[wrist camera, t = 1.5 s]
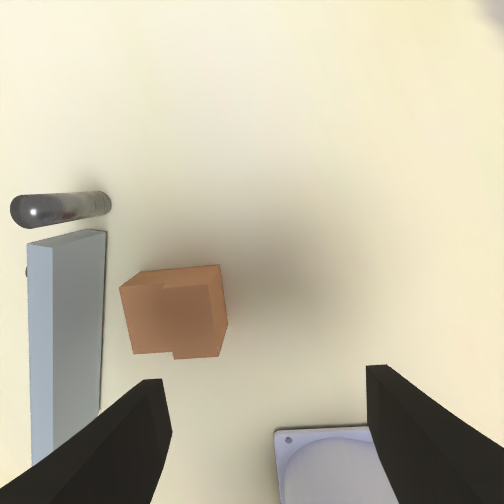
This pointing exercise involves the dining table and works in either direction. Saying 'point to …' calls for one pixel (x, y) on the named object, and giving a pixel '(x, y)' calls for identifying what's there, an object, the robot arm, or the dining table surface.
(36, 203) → the door frame
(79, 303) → the door
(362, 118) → the dining table surface
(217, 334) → the notched block
